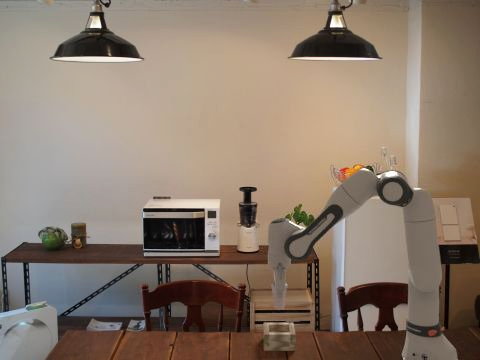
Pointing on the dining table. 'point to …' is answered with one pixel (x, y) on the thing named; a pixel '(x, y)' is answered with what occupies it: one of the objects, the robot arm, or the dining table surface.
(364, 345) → the dining table surface
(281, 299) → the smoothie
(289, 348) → the box
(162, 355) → the dining table surface
